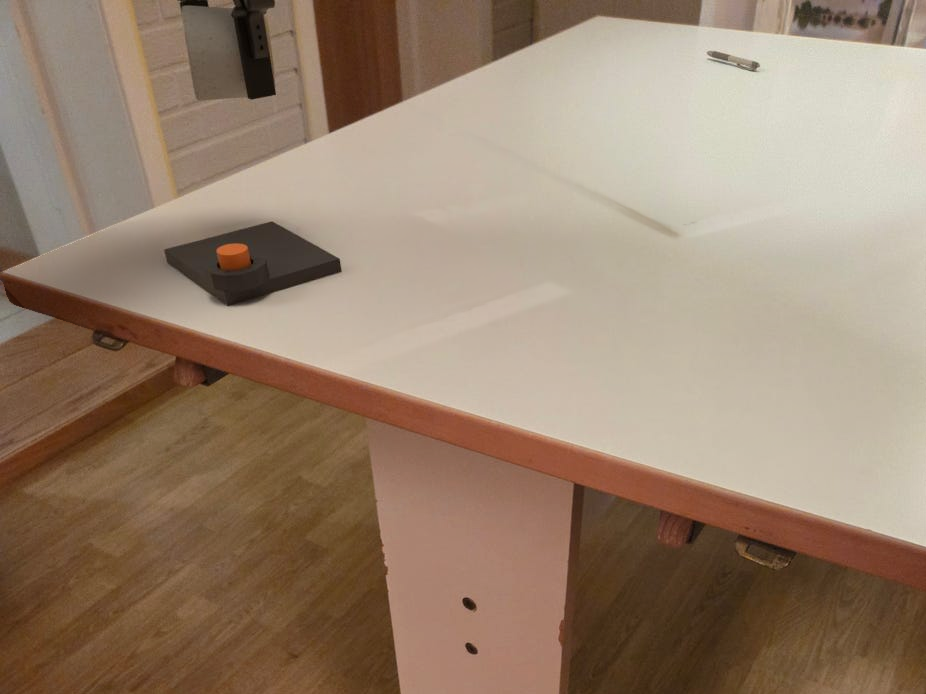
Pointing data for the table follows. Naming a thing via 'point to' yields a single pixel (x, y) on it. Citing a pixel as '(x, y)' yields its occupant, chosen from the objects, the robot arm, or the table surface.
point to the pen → (735, 60)
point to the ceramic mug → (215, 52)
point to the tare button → (233, 257)
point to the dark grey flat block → (253, 263)
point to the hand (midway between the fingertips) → (234, 86)
